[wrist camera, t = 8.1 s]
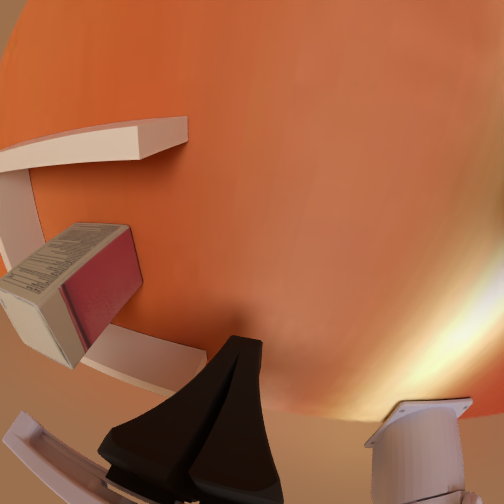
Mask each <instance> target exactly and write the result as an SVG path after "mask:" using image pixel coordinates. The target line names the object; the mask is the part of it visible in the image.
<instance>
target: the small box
mask: <svg viewBox="0 0 504 504" xmlns="http://www.w3.org/2000/svg"><path fill="white" fill-rule="evenodd" d="M142 283H143V281H142V277H141V273H140V269H139V264H138V260H137V256H136V252H135V247H134V243H133V239H132V235H131V230H130V227H129V226H128V225H120V224H104V223H74V224H73V225H71V226H70V227H68V228H67V229H66V230H64V231H63V232H61V233H60V234H58V235H57V236H55V237H54V238H52V239H51V240H50V241H48V242H47V243H45V244H44V245H43V246H41V247H40V248H39V249H37V250H36V251H35V252H33V253H32V254H31V255H29V256H28V257H27V258H25V259H24V260H23V261H22V262H20V263H19V264H18V265H16V266H15V267H14V268H13V269H11V270H10V271H9V272H8V273H6V274H5V275H4V276H3V277H2V278H0V303H1V305H2V306H3V308H4V310H5V312H6V313H7V315H8V317H9V318H10V320H11V322H12V324H13V326H14V327H15V329H16V331H17V333H18V334H19V336H20V337H21V339H22V341H23V342H24V343H25V344H26V345H28V346H29V347H31V348H33V349H34V350H36V351H38V352H40V353H41V354H44V355H45V356H47V357H49V358H50V359H52V360H54V361H56V362H58V363H60V364H62V365H64V366H66V367H68V368H70V369H72V370H73V369H74V368H75V367H76V366H77V364H78V363H79V362H80V360H81V359H82V358H83V356H84V355H85V354H86V352H87V351H88V350H89V348H90V347H91V346H92V345H93V343H94V342H95V341H96V340H97V338H98V337H99V336H100V335H101V333H102V332H103V331H104V329H105V328H106V327H107V326H108V325H109V323H110V322H111V321H112V320H113V318H114V317H115V316H116V315H117V314H118V313H119V311H120V310H121V309H122V308H123V306H124V305H125V304H126V303H127V302H128V301H129V299H130V298H131V297H132V296H133V294H134V293H135V292H136V291H137V290H138V289H139V288H140V286H141V285H142Z"/></svg>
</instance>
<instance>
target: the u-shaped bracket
mask: <svg viewBox="0 0 504 504" xmlns="http://www.w3.org/2000/svg"><path fill="white" fill-rule="evenodd" d="M187 141H188V116H183V117H166V118H154V119H143V120H134V121H125V122H118V123H110V124H104V125H97V126H91V127H86V128H80V129H75V130H70V131H65V132H61V133H56V134H52V135H47V136H43V137H39V138H35V139H32V140H28V141H24V142H21V143H17V144H15V145H12V146H9V147H7V148H4V149H2V150H0V253H1V256H2V258H3V261H4V264H5V266H6V269H7V271H8V272H9V271H10V270H11V269H13V268H14V267H15V266H16V265H18V264H19V263H20V262H22V261H23V260H24V259H25V258H27V257H28V256H29V255H31V254H32V253H33V252H35V251H36V250H37V249H39V248H40V247H41V246H43V245H44V244H45V239H44V236H43V232H42V229H41V225H40V221H39V217H38V213H37V209H36V205H35V201H34V196H33V191H32V186H31V181H30V176H29V170H28V168H34V167H42V166H50V165H60V164H70V163H82V162H97V161H115V160H140V159H142V158H145V157H147V156H150V155H152V154H155V153H157V152H160V151H163V150H165V149H168V148H171V147H173V146H176V145H179V144H182V143H184V142H187ZM80 362H82V363H84V364H86V365H88V366H90V367H92V368H95V369H97V370H99V371H101V372H103V373H106V374H108V375H110V376H112V377H115V378H117V379H120V380H122V381H124V382H127V383H129V384H132V385H135V386H137V387H140V388H142V389H145V390H148V391H151V392H153V393H156V394H159V395H162V396H165V397H168V398H170V397H171V396H173V395H174V394H175V393H176V392H178V391H179V390H180V389H182V388H183V387H184V386H185V385H186V384H187V383H189V382H190V381H191V380H192V379H193V378H194V377H195V376H196V375H197V374H198V373H199V372H200V371H201V370H202V369H203V368H204V367H205V365H206V363H207V355H206V351H205V350H201V349H197V348H193V347H189V346H185V345H181V344H177V343H173V342H170V341H166V340H162V339H159V338H155V337H152V336H148V335H145V334H142V333H138V332H135V331H132V330H129V329H126V328H123V327H120V326H117V325H114V324H111V323H109V325H108V326H107V327H106V328H105V329H104V331H103V332H102V333H101V335H100V336H99V337H98V338H97V340H96V341H95V342H94V343H93V345H92V346H91V347H90V348H89V350H88V351H87V352H86V354H85V355H84V356H83V358H82V359H81V360H80Z"/></svg>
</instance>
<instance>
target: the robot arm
mask: <svg viewBox="0 0 504 504" xmlns="http://www.w3.org/2000/svg"><path fill="white" fill-rule="evenodd" d="M262 344H263V342H262V341H261V340H256V339H251V338H246V337H240V336H235V335H232V336H230V338H229V339H228V340H227V342H226V343H225V344H224V346H223V347H222V348H221V349H220V351H219V352H218V353H217V354H216V355H215V356H214V358H213V359H212V360H211V361H210V362H209V363H208V364H207V365H206V366H205V367H204V368H203V369H202V370H201V371H200V372H199V373H198V374H197V375H196V376H195V377H194V378H193V379H192V380H191V381H190V382H189V383H187V384H186V385H185V386H184V387H183V388H182V389H180V390H179V391H178V392H176V393H175V394H174V395H173V396H171V397H170V398H168V399H167V400H165V401H164V402H162V403H161V404H159V405H158V406H156V407H155V408H153V409H151V410H149V411H148V412H146V413H144V414H142V415H140V416H139V417H137V418H135V419H132V420H130V421H128V422H126V423H123V424H121V425H119V426H116V427H114V428H112V429H111V430H110V432H109V433H108V434H107V435H106V437H105V438H104V440H103V442H102V443H101V445H100V447H99V449H98V450H97V451H98V453H99V455H101V456H102V457H103V458H104V459H105V460H106V461H108V462H109V463H110V464H111V467H110V469H109V470H107V469H105V468H104V467H102V466H100V465H98V464H96V463H95V462H93V461H91V460H90V459H88V458H86V457H84V456H83V455H81V454H80V453H78V452H77V451H75V450H74V449H72V448H71V447H69V446H68V445H66V444H65V443H63V442H62V441H60V440H59V439H58V438H56V437H55V436H54V435H52V434H51V433H49V432H48V431H47V430H45V429H44V427H43V426H42V425H41V424H40V423H38V422H37V421H36V420H35V419H34V418H33V417H31V416H30V415H29V414H28V413H27V412H25V411H24V410H22V411H21V413H20V414H19V415H18V417H17V418H16V420H15V421H14V423H13V424H12V425H11V427H10V428H9V430H8V431H7V433H6V434H5V436H4V437H3V439H2V441H3V442H4V443H5V444H6V445H7V446H8V447H9V448H10V449H11V450H12V451H13V452H14V453H15V454H16V456H17V457H19V458H20V460H21V461H22V462H23V463H24V464H25V465H27V467H28V468H29V469H30V470H31V471H32V472H33V473H34V474H35V475H36V476H38V477H39V478H40V479H41V480H42V481H43V482H44V483H45V484H46V485H47V486H48V487H49V488H50V489H52V490H53V491H54V492H55V493H56V494H57V495H59V496H60V497H61V498H63V500H65V501H66V502H67V503H68V504H137V503H135V502H133V501H131V500H129V499H127V498H125V497H123V496H121V495H119V494H117V493H116V492H114V491H112V490H110V489H108V487H107V483H108V484H110V485H112V486H114V487H116V488H117V489H119V490H121V491H123V492H125V493H127V494H129V495H131V496H134V497H136V498H138V499H140V500H142V501H144V502H147V503H149V504H185V503H184V502H189V503H192V502H197V501H199V502H200V503H199V504H284V499H283V493H282V488H281V483H280V478H279V475H278V473H277V470H276V467H275V464H274V461H273V458H272V454H271V451H270V447H269V443H268V439H267V435H266V431H265V426H264V421H263V415H262V408H261V401H260V391H259V374H260V369H261V358H262ZM472 403H473V400H472V398H467V399H456V400H440V401H405V402H401V403H400V404H399V405H398V406H397V407H396V409H395V410H394V411H393V412H392V413H391V415H390V416H389V417H388V418H387V419H386V421H385V422H384V423H383V424H382V425H381V426H380V428H379V429H378V430H377V431H376V432H375V433H374V434H373V435H372V437H371V438H370V439H369V440H368V441H367V442H366V443H365V447H366V448H373V460H372V480H371V499H372V501H373V503H374V504H483V503H482V499H481V497H480V496H479V495H477V494H475V493H474V492H471V493H470V492H467V491H465V480H464V466H463V457H462V449H461V441H460V434H459V429H458V422H457V418H458V417H460V416H461V415H462V414H463V413H464V412H465V411H466V410H467V409H468V407H469V406H470V405H471V404H472Z"/></svg>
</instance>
